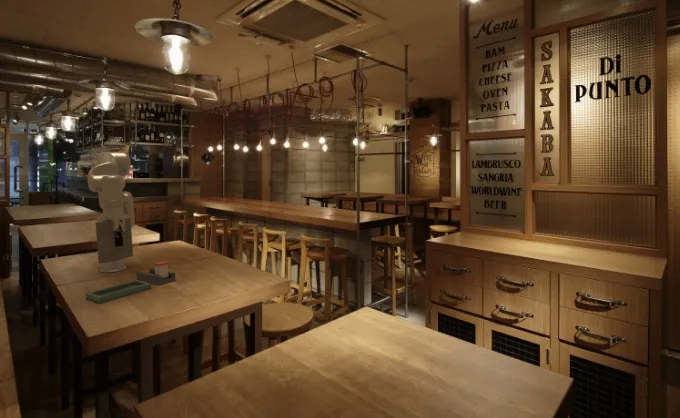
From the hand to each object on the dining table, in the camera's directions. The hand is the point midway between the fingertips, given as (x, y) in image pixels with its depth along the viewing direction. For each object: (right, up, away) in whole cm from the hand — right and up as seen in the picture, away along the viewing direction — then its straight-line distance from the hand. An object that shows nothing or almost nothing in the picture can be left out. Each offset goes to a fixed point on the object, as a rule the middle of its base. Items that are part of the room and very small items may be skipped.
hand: (116, 245), depth 176 cm
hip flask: (0, -6, +1) cm, 7 cm away
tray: (0, -22, +2) cm, 22 cm away
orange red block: (+11, -17, +20) cm, 29 cm away
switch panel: (+7, -19, +23) cm, 31 cm away
